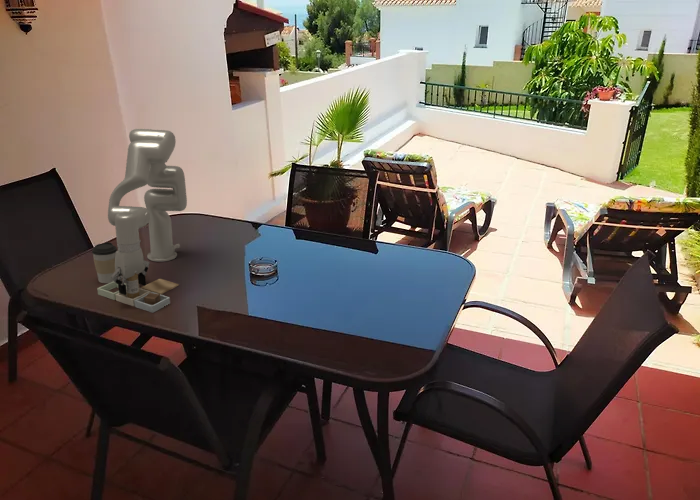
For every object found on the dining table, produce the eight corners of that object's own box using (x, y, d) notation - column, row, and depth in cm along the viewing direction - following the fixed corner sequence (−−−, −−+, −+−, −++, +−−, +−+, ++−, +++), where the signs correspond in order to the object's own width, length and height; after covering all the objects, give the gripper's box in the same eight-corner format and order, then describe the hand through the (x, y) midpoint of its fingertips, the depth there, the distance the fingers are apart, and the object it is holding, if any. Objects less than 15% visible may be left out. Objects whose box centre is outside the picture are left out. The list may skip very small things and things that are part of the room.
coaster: (159, 279, 212) (159, 278, 212) (178, 285, 209) (178, 284, 208) (141, 288, 204) (141, 287, 204) (160, 294, 200) (160, 293, 200)
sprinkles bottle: (140, 295, 198) (137, 263, 193) (140, 301, 194) (137, 268, 189) (127, 297, 196) (124, 264, 192) (127, 302, 193) (123, 269, 188)
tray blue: (152, 298, 197) (152, 291, 196) (170, 303, 194) (169, 297, 193) (135, 306, 190) (134, 300, 189) (152, 312, 186) (152, 306, 185)
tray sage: (116, 286, 204) (115, 280, 203) (132, 291, 201) (131, 285, 200) (98, 294, 197) (97, 288, 196) (114, 300, 194) (113, 293, 193)
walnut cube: (150, 302, 194) (149, 292, 192) (160, 304, 193) (159, 294, 192) (144, 307, 190) (144, 297, 189) (154, 308, 190) (154, 298, 188)
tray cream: (134, 292, 201) (133, 286, 200) (150, 297, 197) (150, 291, 196) (116, 300, 193) (115, 294, 192) (133, 306, 190) (132, 299, 189)
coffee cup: (110, 285, 204) (107, 250, 199) (90, 282, 206) (86, 247, 201) (124, 276, 213) (121, 242, 207) (104, 273, 214) (101, 239, 209)
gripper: (139, 237, 196) (143, 278, 203) (101, 251, 182) (106, 295, 188) (154, 241, 194) (157, 283, 200) (116, 255, 179) (121, 300, 185)
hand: (132, 289), depth 194 cm, fingers open, 8 cm apart
